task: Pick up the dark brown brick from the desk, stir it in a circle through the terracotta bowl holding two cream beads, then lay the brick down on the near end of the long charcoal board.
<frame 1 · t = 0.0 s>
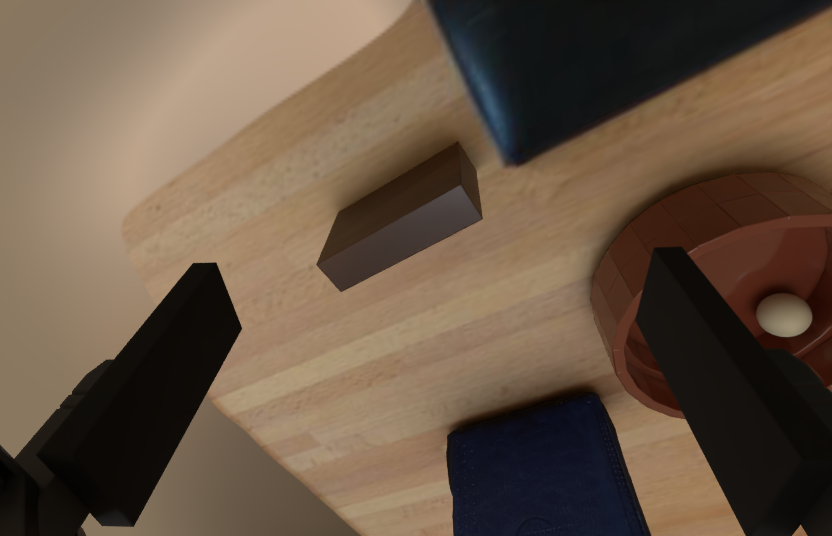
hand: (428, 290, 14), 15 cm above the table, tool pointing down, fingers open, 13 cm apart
bead a: (783, 314, 29), point 2 cm above the table, touching bowl
book: (522, 417, 40), on the table
bowl: (706, 274, 31), on the table
dark brown brick: (404, 192, 28), on the table
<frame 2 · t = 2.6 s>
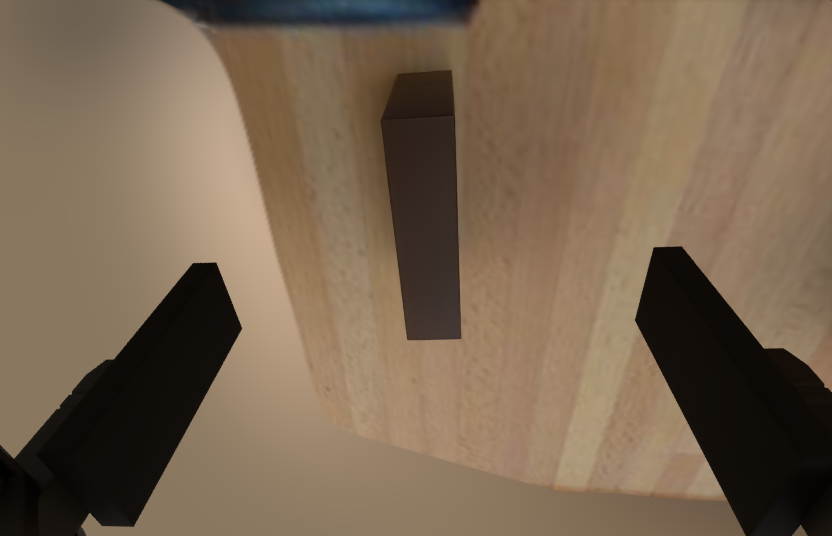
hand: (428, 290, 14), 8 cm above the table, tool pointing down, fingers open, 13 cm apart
dark brown brick: (431, 176, 21), on the table
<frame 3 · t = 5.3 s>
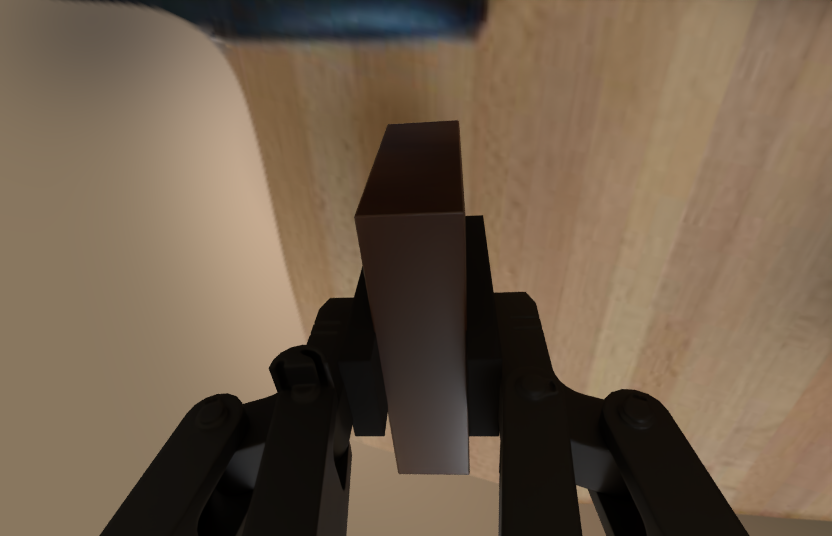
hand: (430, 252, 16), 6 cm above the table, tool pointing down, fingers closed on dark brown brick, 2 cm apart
dark brown brick: (431, 247, 16), point 6 cm above the table, touching gripper
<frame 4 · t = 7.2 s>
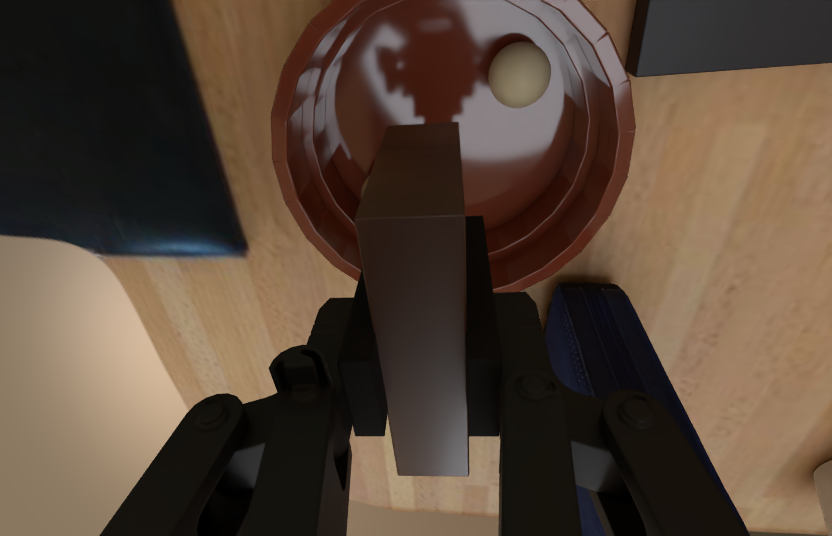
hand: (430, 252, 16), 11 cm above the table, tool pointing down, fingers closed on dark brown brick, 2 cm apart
bead a: (519, 75, 21), point 2 cm above the table, touching bowl
book: (565, 347, 34), on the table
bowl: (447, 125, 25), on the table
dark brown brick: (430, 248, 16), point 11 cm above the table, touching gripper
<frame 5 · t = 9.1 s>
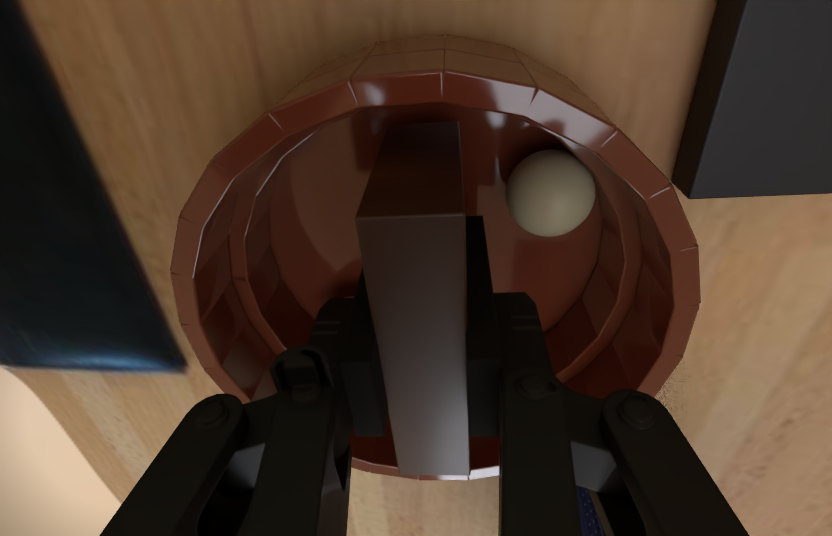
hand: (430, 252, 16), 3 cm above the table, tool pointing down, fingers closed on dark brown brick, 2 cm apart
bead a: (549, 193, 15), point 2 cm above the table, tilted 27°, touching bowl
book: (577, 473, 28), on the table
bowl: (432, 239, 19), on the table
dark brown brick: (431, 248, 16), point 2 cm above the table, touching gripper
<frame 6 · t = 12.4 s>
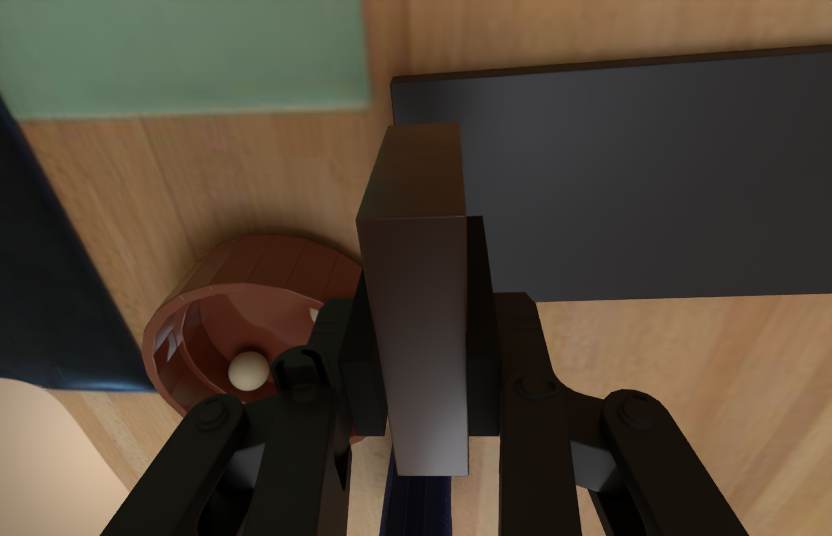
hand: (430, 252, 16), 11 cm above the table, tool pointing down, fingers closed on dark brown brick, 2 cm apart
book: (422, 455, 42), on the table
board: (721, 184, 26), on the table
bead b: (249, 370, 33), point 2 cm above the table, touching bowl
bowl: (295, 318, 33), on the table
dark brown brick: (431, 248, 16), point 11 cm above the table, touching gripper
when the fingers open (2 cm above the table, at t = 14.7 s): dark brown brick stays where it is, resting on board.
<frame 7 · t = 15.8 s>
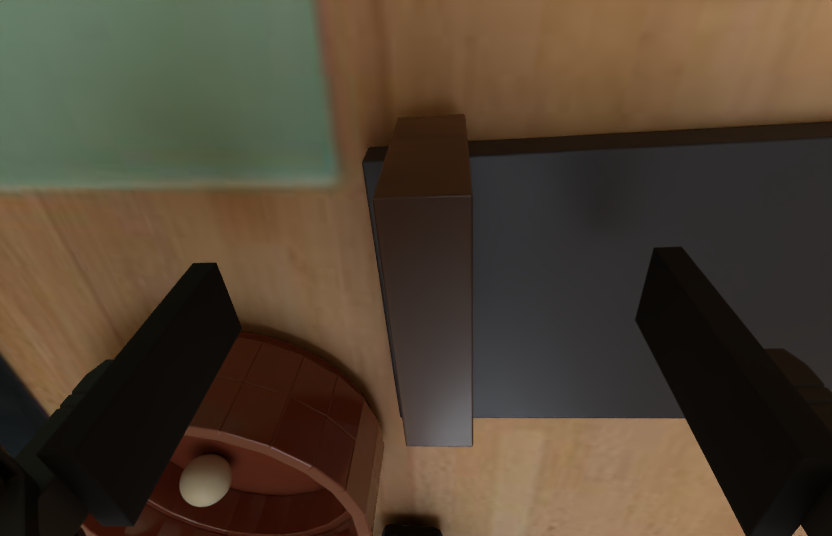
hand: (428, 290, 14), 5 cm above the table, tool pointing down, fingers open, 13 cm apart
board: (808, 284, 19), on the table
bead b: (206, 479, 26), point 2 cm above the table, tilted 30°, touching bowl
bowl: (256, 419, 27), on the table
dark brown brick: (437, 235, 17), point 1 cm above the table, touching board
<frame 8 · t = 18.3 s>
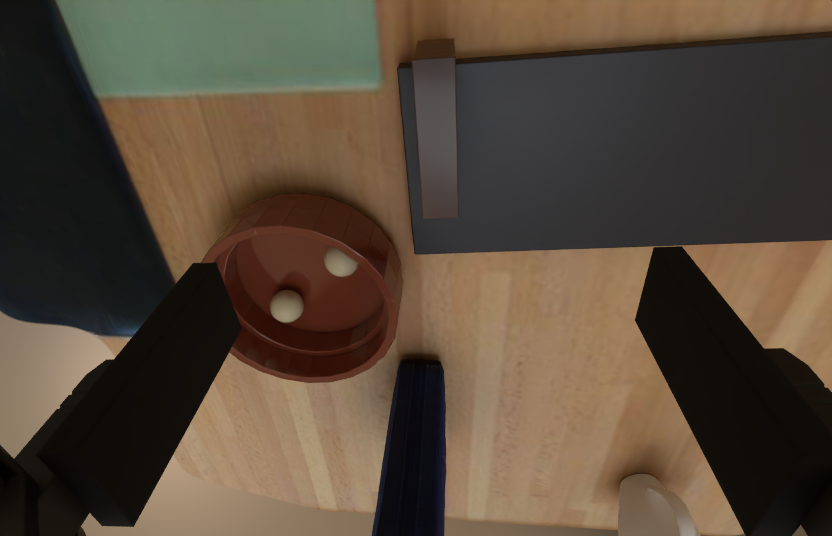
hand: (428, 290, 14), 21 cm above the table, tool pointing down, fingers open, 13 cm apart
bead a: (342, 259, 36), point 2 cm above the table, tilted 11°, touching bowl
book: (421, 397, 49), on the table
board: (661, 151, 32), on the table
bead b: (287, 306, 39), point 2 cm above the table, tilted 53°, touching bowl
bowl: (315, 269, 40), on the table
dark brown brick: (438, 114, 30), point 1 cm above the table, touching board
mug: (641, 473, 54), on the table
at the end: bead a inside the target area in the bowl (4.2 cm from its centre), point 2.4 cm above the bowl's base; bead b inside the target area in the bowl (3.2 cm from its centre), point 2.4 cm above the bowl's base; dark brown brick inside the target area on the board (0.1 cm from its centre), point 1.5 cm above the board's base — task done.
